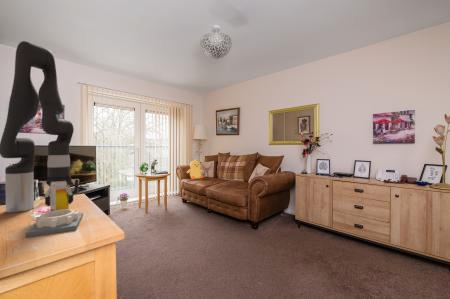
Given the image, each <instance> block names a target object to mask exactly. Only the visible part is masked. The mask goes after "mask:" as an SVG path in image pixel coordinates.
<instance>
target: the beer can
mask: <svg viewBox="0 0 450 299" xmlns="http://www.w3.org/2000/svg"><path fill="white" fill-rule="evenodd" d="M66 186H67V182H66V181H58V182H51V184H50V186H49V188H50V187H51V189H50V190H51V193H50V206H49V207H50V210H49V212H51V211H55V210H63V209H70V208H69V207H70V204H69V194H68V192H67V191H66V189H67V188H66ZM67 187H68V186H67Z"/></svg>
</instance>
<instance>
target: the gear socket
mask: <svg viewBox="0 0 450 299" xmlns="http://www.w3.org/2000/svg"><path fill="white" fill-rule="evenodd" d="M83 216H84V212H79V211H76V209H71V208H69V209H63V210H55V211H51V212H50V211H48V212H45V213H42V214H41V215H39V216H37V217H35V223H34V224H33V225H32V226H31V227H30V228H29V229H28V230H27V231H26V232H25V238H30V237H31V238H33V237H38V236H45V235H50V234H58V233H63V232H71V231H77V230H78V227H79V225H80V223H81V221H82V219H83Z"/></svg>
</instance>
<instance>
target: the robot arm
mask: <svg viewBox="0 0 450 299" xmlns="http://www.w3.org/2000/svg"><path fill="white" fill-rule="evenodd" d="M32 68H36V69H38V70H41V71H42V73H43V76H44V77H43V82H42V84H41V85H40V86H39V89H38V92H37V88H36V87H35V86H34V84H33V82H32V81H33V80H32V77H31V75H32V74H31V71H32ZM57 77H58V76H57V68H56V59H55V56H54V54H53V52H52V51H51V50H50V49H48V48H45V47H43V46H41V45H37V44H35V43H32V42H29V41H25V40H22V41H21V42H19V43H18V45H17V47H16V50H15V58H14V75H13V82H12V88H11V93H10V96H9V102H8V108H7V109H8V110H7V115H6V121H5V125H4V129H3V132H2V135H1V139H0V157H1V158H3V159H20V160H19V161H18V162H16V163H14V164H12V165H9V166H6V167H5V169H4V171H5V176H4V177H5V179H4V180H5V213H21V212H25V211H30V210H33V209H34V208H35V200H34V199H35V196H34V195H35V193H34V192H35V191H34V190H35V185H34V184H35V183H34V168H35V156H36V153H35V152H36V145H35V141H34V140H33V139H32V138H30V137H29V138H28V137H18V134H19V132H20V131H21V130H22V128H23V127H24V126H26V125H27V124H28V123H29V122H30V121H32V120H33V119H34V118H35V117H36V115H37V114H38V112H39V107H40V106H41V110H42V113H41V128H42V129H43V131H44V132H45V133H46V135H49V136H57V137H56V139H55V140H52V141H49V142H48V144H47V164H46V166H47V179H46V180H44V181H43V180H39V181H37V190H38V196H39V197H44V205H45V206H47V207H50V193H51V190H50V189H51V187H50V184H51V182H58V181H66V182H67V186H68V187H67V186H66V188H67V189H66V191H67V192H68V194H69V205H71V204H72V203H73V202H74V195H75V194H77V193H79V189H80V179H79V178H75V179H73V178H71V177H72V176H71V158H70V145H71V141H72V138H73V135H74V131H75V129H74V128H75V127H74V125H73V122H71V120H68V119H66V118H65V119H64V118H58V116H59V115H61V114H62V113H64V110H65V109H64V106H63V102H62V99H61V96H60V92H59V88H58V78H57ZM57 115H58V116H57ZM46 184H47V186H48V187H49V188H48V190H47V191H46V192H45V186H46ZM70 184H73V185H74V190H72V188H71V186H70ZM33 207H34V208H33ZM32 208H33V209H32Z"/></svg>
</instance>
